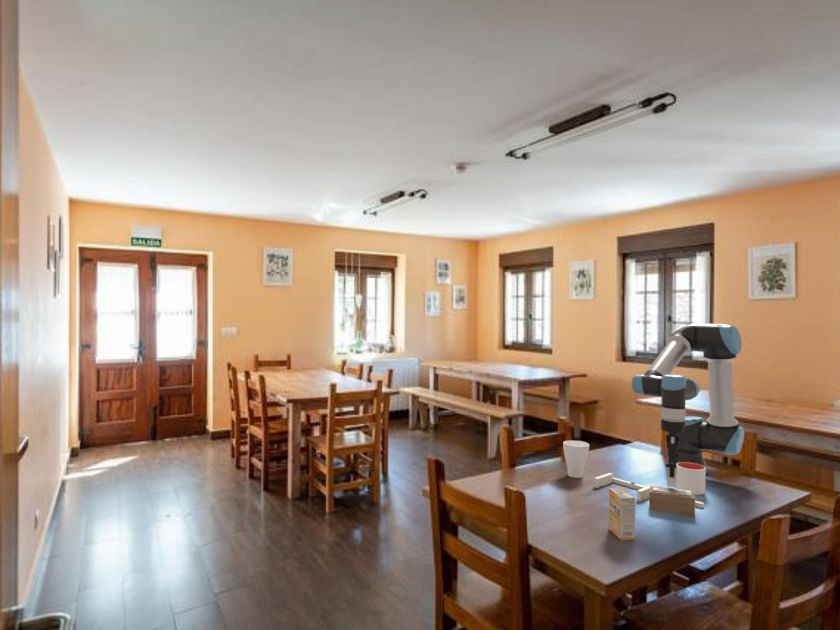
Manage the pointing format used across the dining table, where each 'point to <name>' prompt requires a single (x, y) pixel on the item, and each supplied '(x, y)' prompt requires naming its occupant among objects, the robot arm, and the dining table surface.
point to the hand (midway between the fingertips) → (671, 481)
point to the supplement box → (622, 513)
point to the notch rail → (641, 492)
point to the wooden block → (672, 500)
